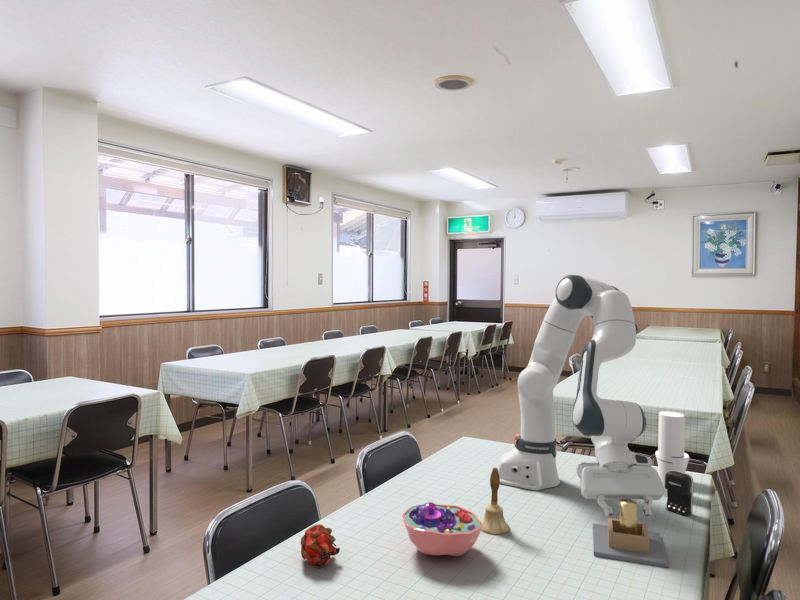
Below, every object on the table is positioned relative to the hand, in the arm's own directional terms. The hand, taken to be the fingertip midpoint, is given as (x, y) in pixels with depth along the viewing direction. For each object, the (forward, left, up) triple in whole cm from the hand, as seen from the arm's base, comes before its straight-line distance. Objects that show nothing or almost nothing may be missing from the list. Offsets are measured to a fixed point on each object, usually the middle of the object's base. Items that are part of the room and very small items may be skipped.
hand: (628, 515), depth 131 cm
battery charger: (+15, +27, -8) cm, 32 cm away
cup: (+17, +53, -8) cm, 56 cm away
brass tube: (0, +1, -7) cm, 7 cm away
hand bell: (-33, 0, -8) cm, 34 cm away
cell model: (-43, -17, -8) cm, 47 cm away
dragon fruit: (-69, -31, -8) cm, 76 cm away
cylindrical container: (+15, +41, -8) cm, 44 cm away
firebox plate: (0, +1, -8) cm, 8 cm away
